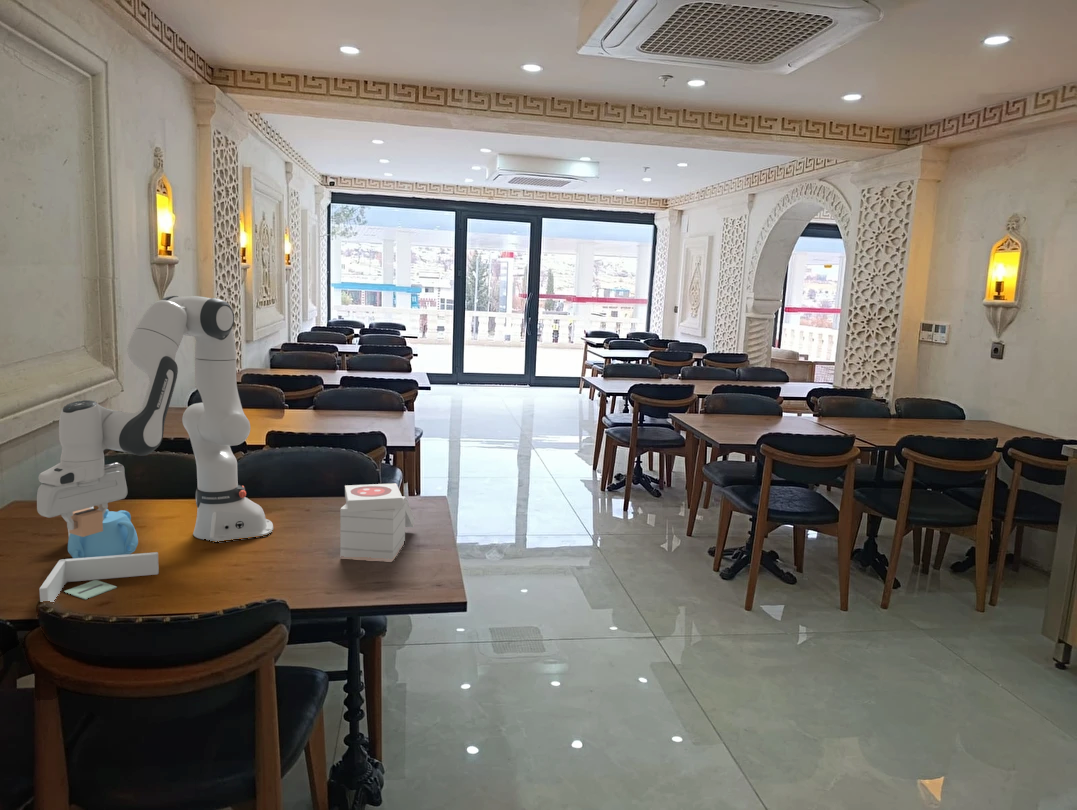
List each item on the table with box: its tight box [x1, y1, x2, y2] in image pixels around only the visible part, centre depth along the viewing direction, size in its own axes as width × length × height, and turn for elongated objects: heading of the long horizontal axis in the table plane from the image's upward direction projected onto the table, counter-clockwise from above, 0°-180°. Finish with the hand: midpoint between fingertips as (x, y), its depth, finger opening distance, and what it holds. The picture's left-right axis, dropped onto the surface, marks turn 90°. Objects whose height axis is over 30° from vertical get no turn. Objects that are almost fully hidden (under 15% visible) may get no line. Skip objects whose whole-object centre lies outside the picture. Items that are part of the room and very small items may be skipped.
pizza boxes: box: [339, 482, 416, 559], centre depth 218 cm, size 19×30×18 cm, turn 177°
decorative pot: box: [67, 508, 139, 559], centre depth 200 cm, size 16×16×14 cm
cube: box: [69, 508, 103, 537], centre depth 178 cm, size 5×5×5 cm
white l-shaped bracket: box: [38, 551, 160, 603], centre depth 181 cm, size 22×18×6 cm
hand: (85, 525), depth 178 cm, fingers closed on cube, 5 cm apart
